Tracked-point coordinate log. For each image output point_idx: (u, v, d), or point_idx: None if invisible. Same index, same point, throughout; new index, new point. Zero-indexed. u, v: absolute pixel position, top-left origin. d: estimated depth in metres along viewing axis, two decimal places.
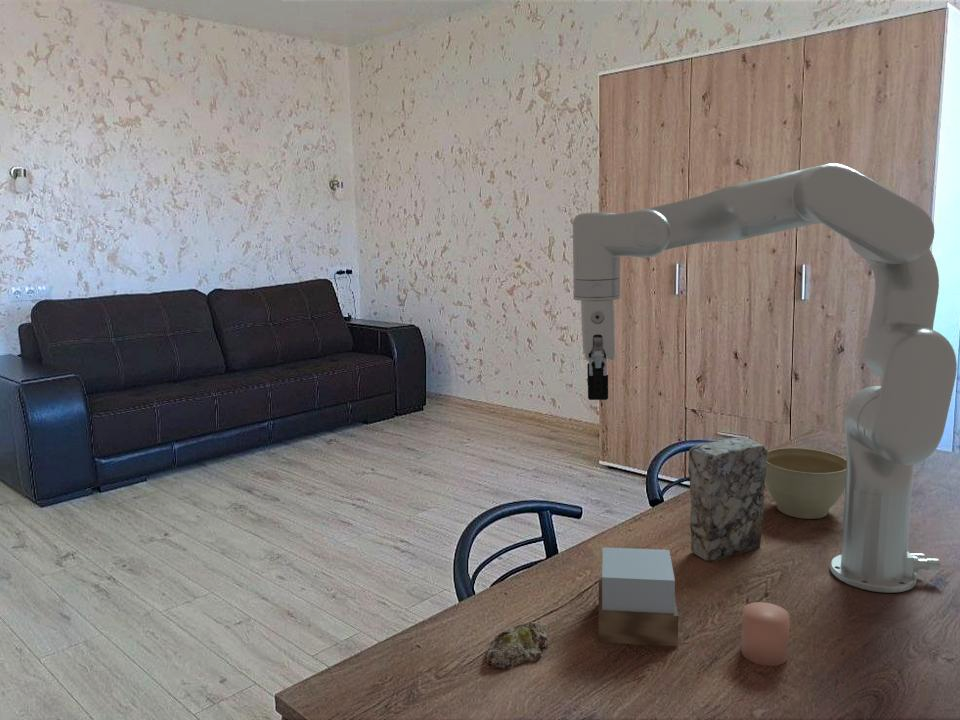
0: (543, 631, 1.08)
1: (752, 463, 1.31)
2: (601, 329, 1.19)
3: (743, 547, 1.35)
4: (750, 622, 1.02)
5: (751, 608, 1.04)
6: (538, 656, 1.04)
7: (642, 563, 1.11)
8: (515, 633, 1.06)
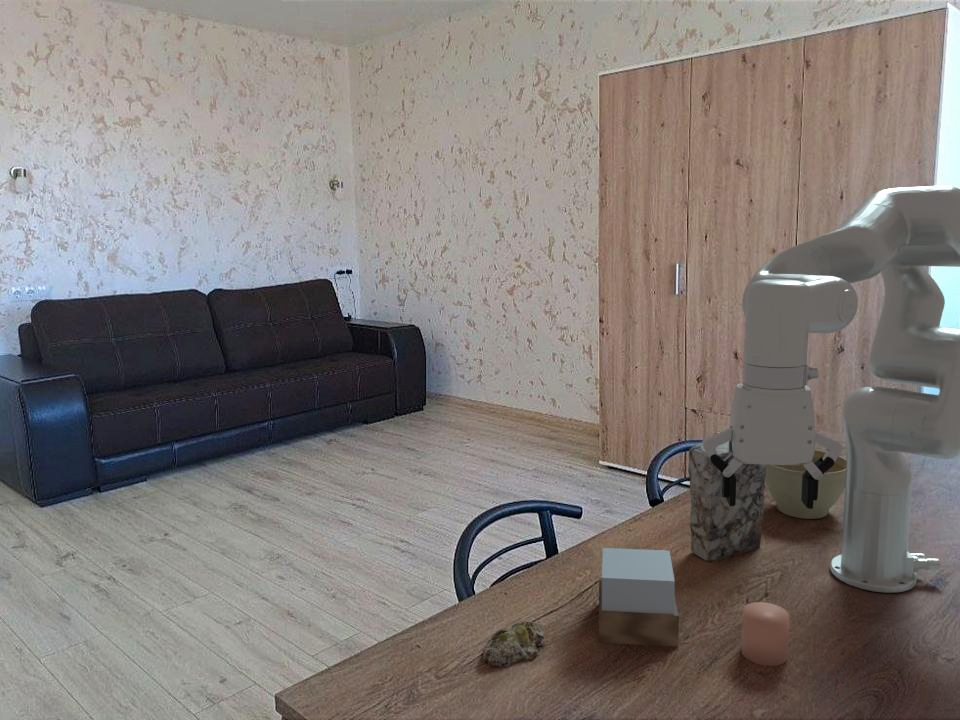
0: (540, 630, 1.09)
1: None
2: None
3: (743, 547, 1.35)
4: (750, 622, 1.02)
5: (751, 608, 1.04)
6: (534, 654, 1.04)
7: (642, 564, 1.10)
8: (512, 631, 1.06)
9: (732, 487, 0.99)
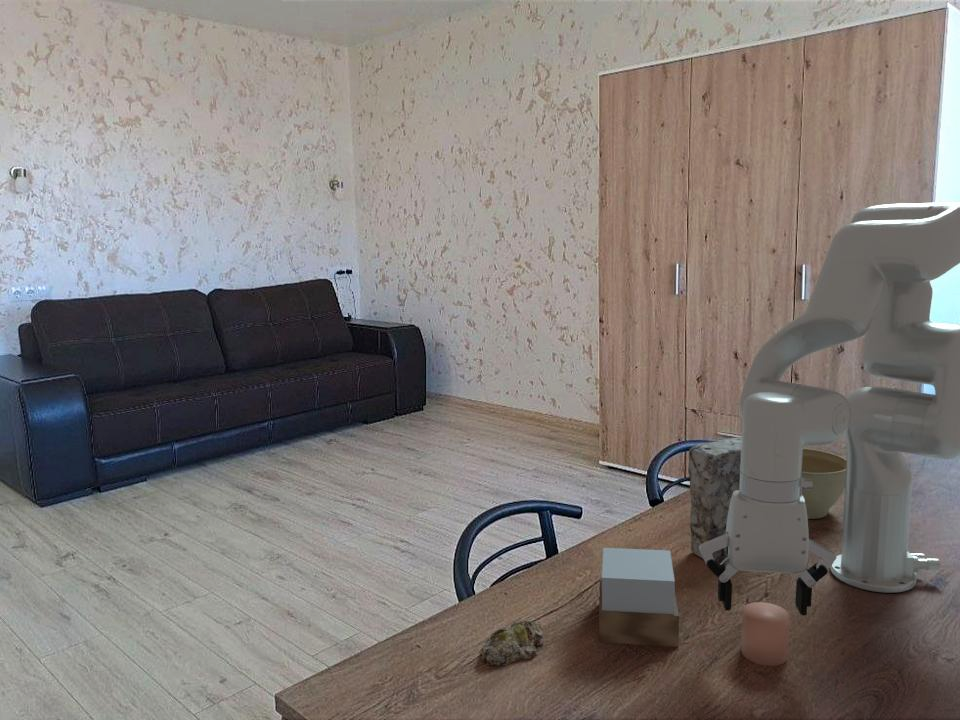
0: (539, 629, 1.09)
1: None
2: None
3: None
4: (749, 622, 1.02)
5: (751, 608, 1.04)
6: (533, 654, 1.05)
7: (643, 564, 1.10)
8: (511, 631, 1.07)
9: (728, 592, 1.01)
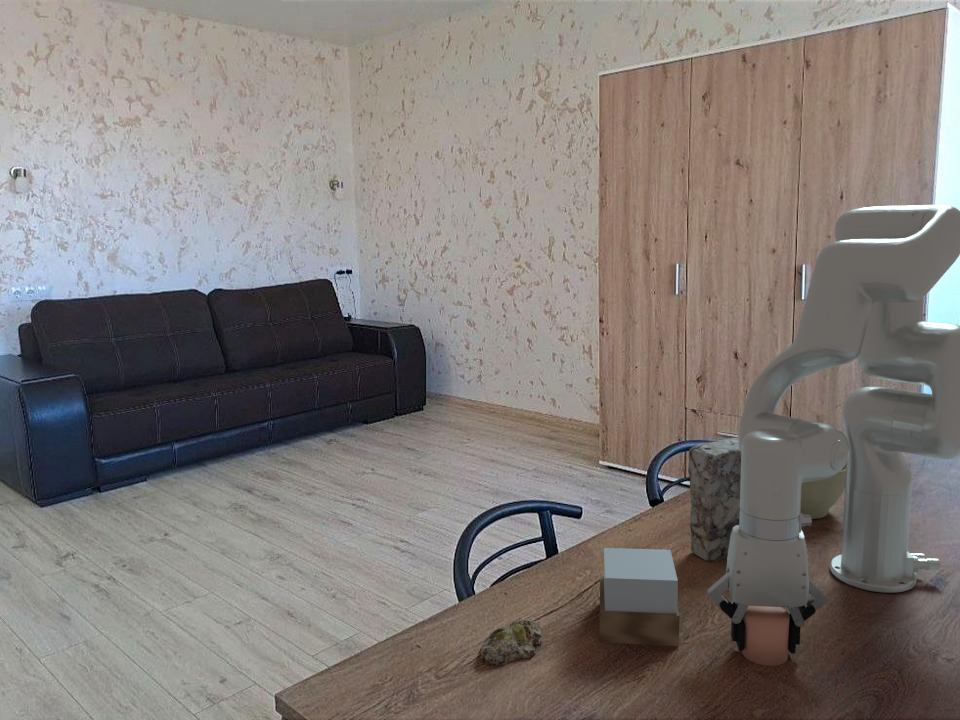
0: (537, 628, 1.09)
1: None
2: None
3: None
4: (750, 622, 1.02)
5: (751, 608, 1.04)
6: (532, 653, 1.05)
7: (644, 564, 1.10)
8: (509, 630, 1.07)
9: (741, 633, 1.02)
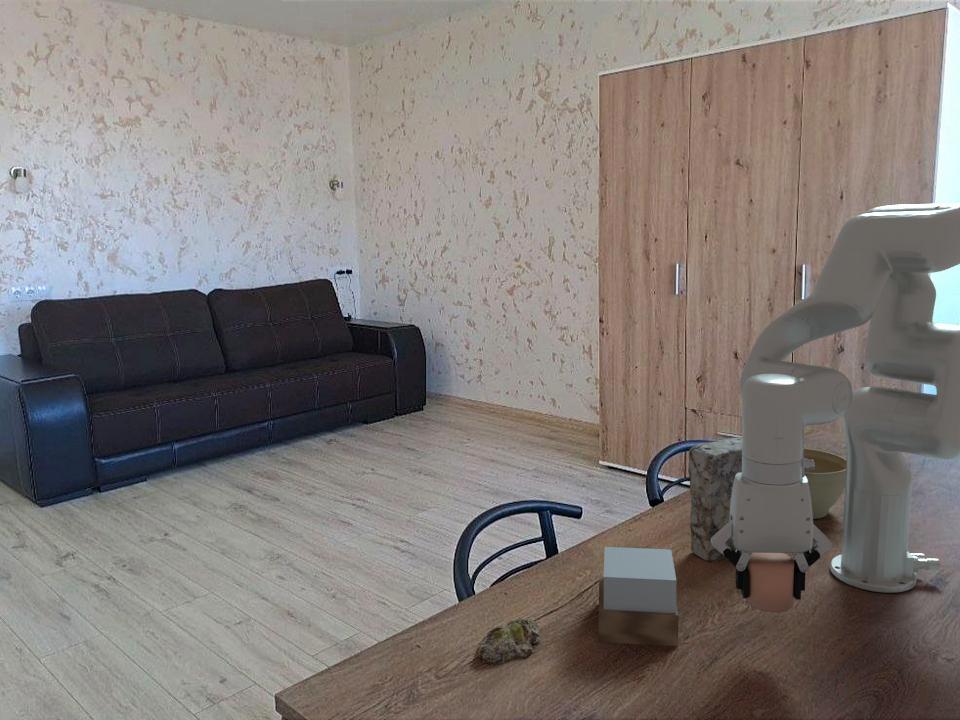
0: (535, 627, 1.09)
1: None
2: None
3: None
4: (754, 569, 1.01)
5: (755, 555, 1.03)
6: (529, 652, 1.05)
7: (644, 563, 1.11)
8: (507, 629, 1.07)
9: (745, 581, 1.01)
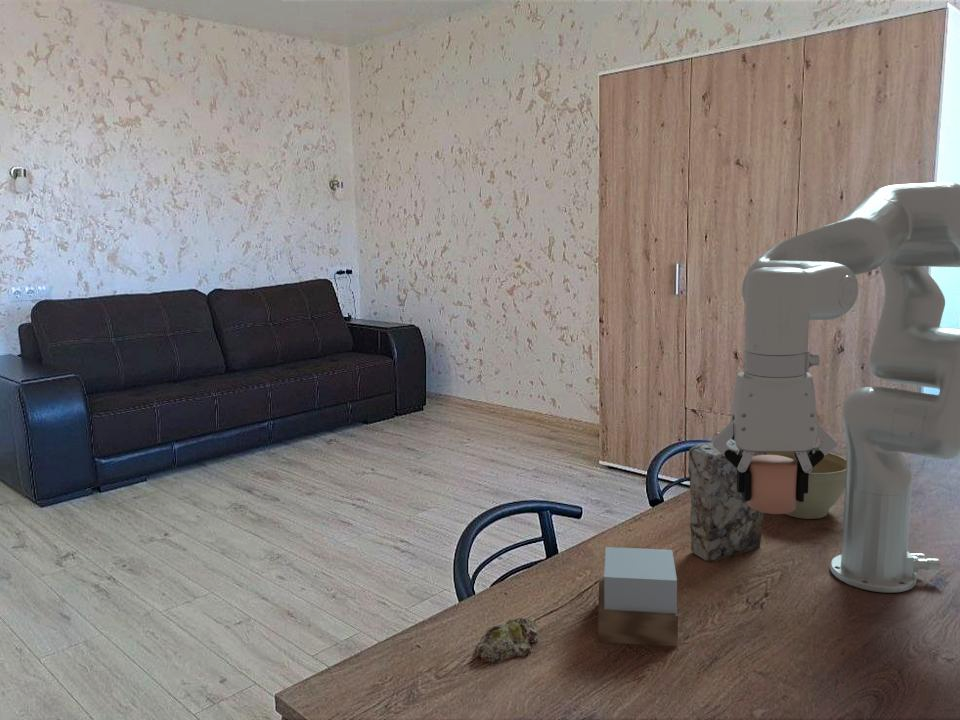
0: (534, 626, 1.09)
1: None
2: None
3: (743, 547, 1.35)
4: (756, 470, 0.98)
5: (757, 458, 1.01)
6: (527, 651, 1.05)
7: (645, 563, 1.11)
8: (505, 628, 1.07)
9: (747, 482, 0.99)
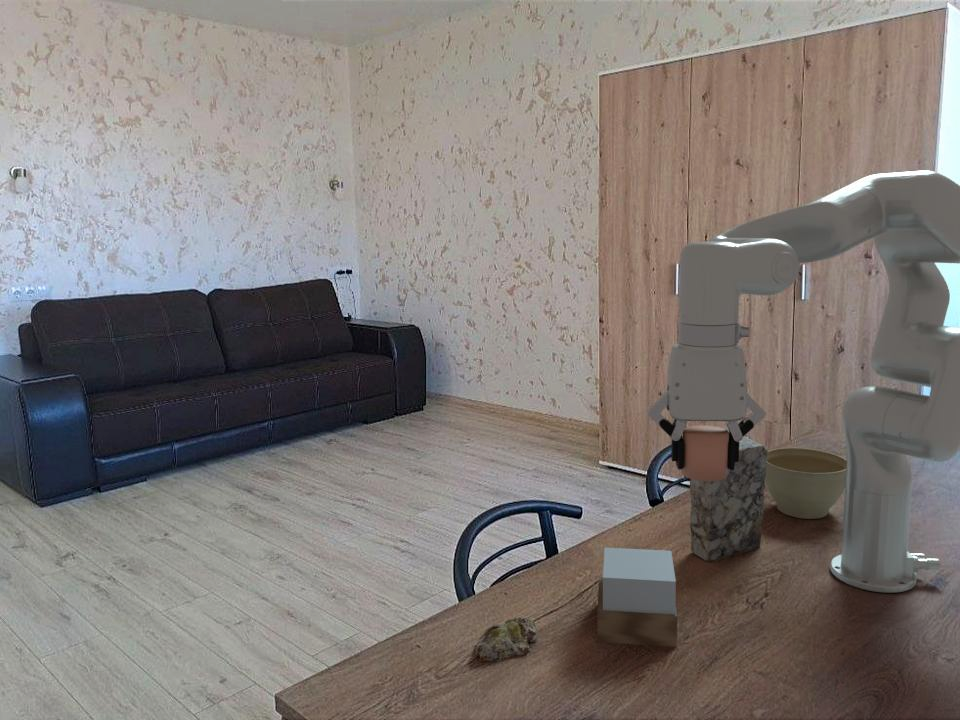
0: (532, 626, 1.10)
1: (752, 463, 1.31)
2: None
3: (743, 547, 1.35)
4: (689, 438, 1.01)
5: (691, 428, 1.04)
6: (526, 650, 1.06)
7: (644, 564, 1.10)
8: (504, 627, 1.07)
9: (680, 450, 1.02)
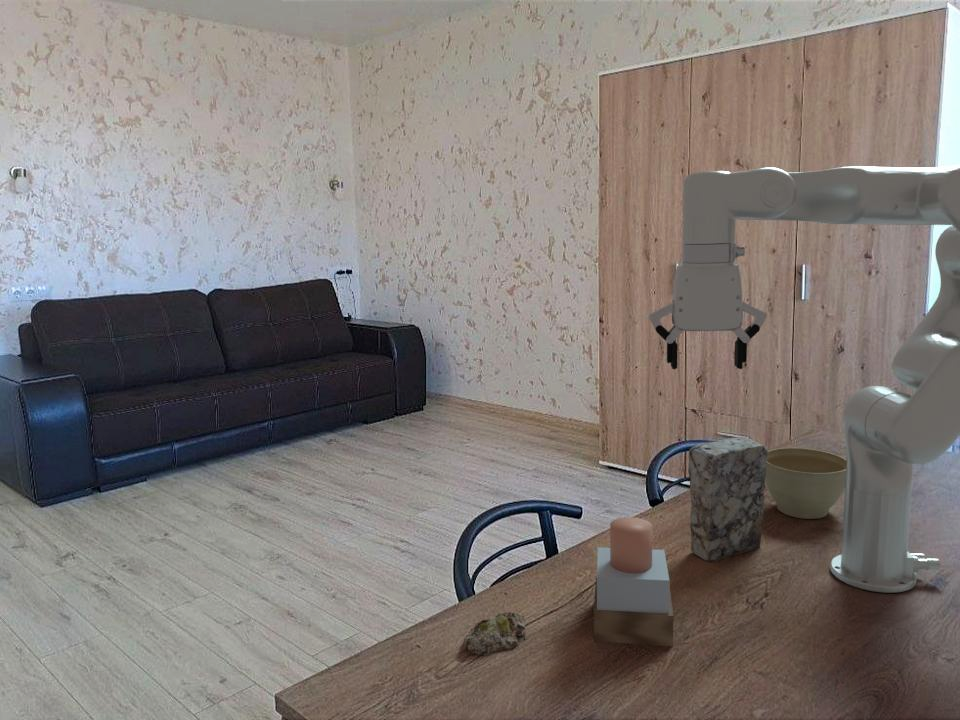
0: (522, 620, 1.11)
1: (753, 463, 1.31)
2: None
3: (743, 547, 1.35)
4: (614, 532, 1.08)
5: (619, 521, 1.11)
6: (514, 644, 1.07)
7: None
8: (493, 621, 1.09)
9: (674, 352, 1.16)
